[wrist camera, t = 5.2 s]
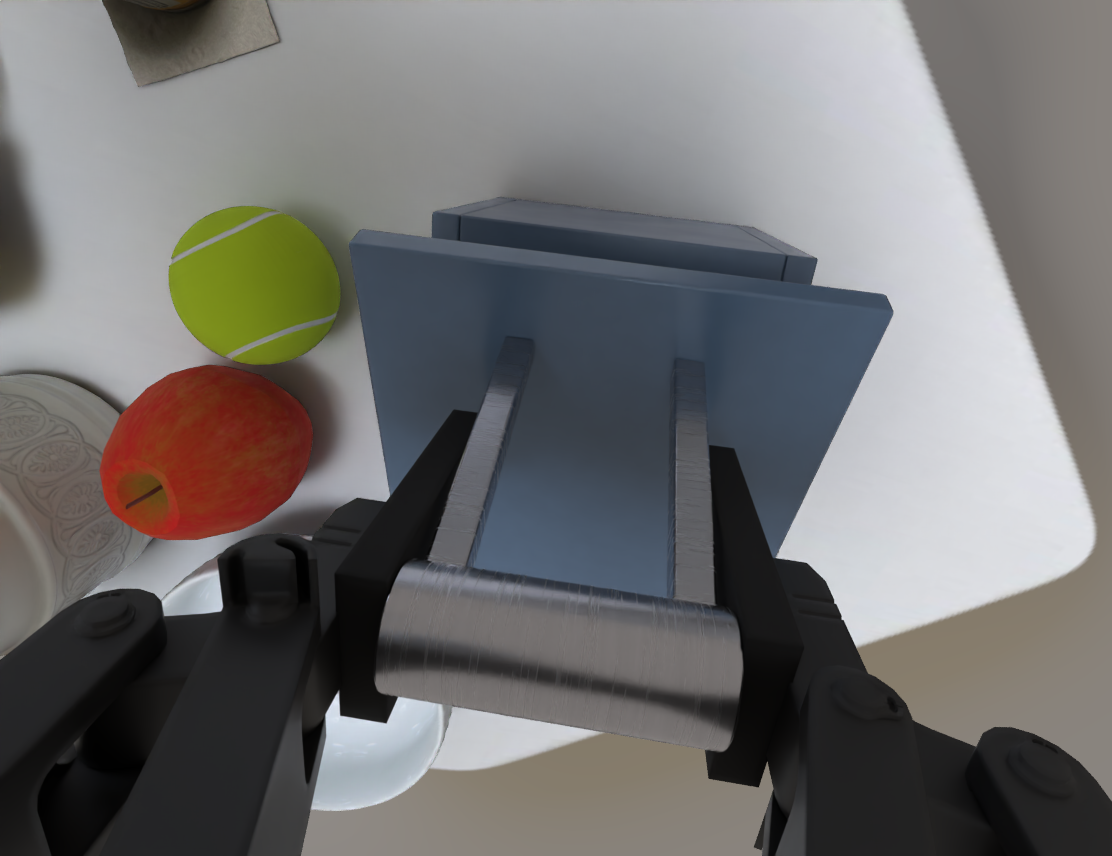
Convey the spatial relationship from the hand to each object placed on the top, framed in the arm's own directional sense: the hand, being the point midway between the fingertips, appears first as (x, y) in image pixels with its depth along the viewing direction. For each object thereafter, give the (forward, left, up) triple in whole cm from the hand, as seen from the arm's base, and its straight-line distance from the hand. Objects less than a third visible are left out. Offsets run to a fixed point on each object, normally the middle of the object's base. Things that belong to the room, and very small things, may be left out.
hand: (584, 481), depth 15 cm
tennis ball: (0, -16, -18) cm, 24 cm away
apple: (+8, -18, -18) cm, 26 cm away
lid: (+3, 0, -4) cm, 5 cm away
